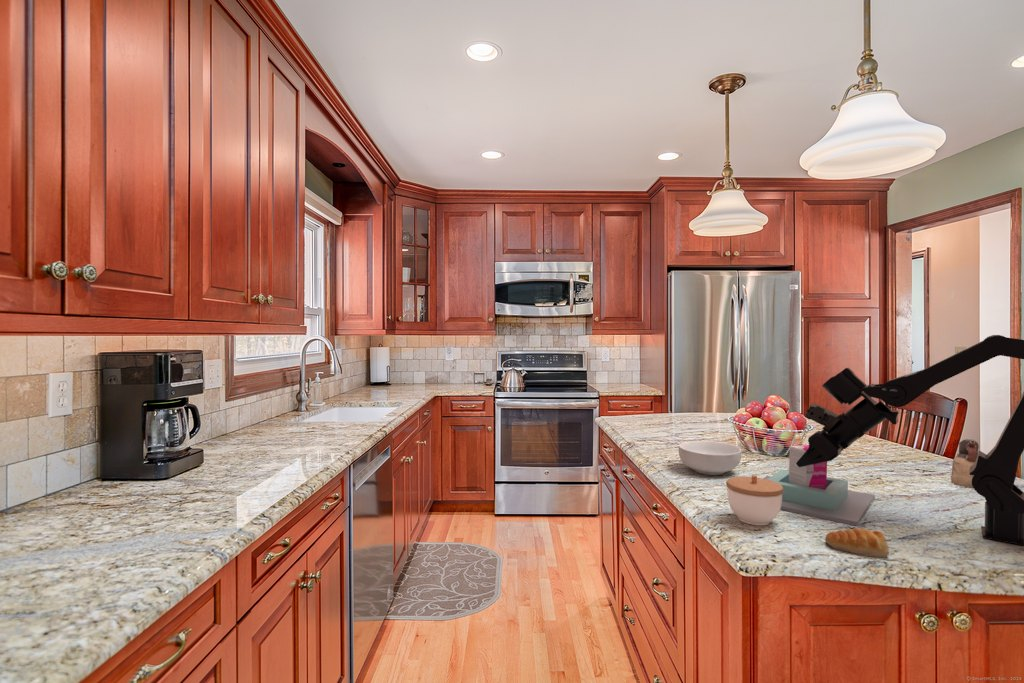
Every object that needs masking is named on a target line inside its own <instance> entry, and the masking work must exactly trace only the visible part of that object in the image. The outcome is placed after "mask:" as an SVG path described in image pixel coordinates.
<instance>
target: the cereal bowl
mask: <svg viewBox="0 0 1024 683" xmlns="http://www.w3.org/2000/svg"><path fill="white" fill-rule="evenodd" d="M678 456H679V458H680V461H681V462H682V463H683V464H684V465H685V466H687V467H688V468H690V469H692V470H694V471H695V472H696V473H699V474H702V475H707V476H708V475H709V476H720V475H724V474H725V473H727V472H729V471H732V470H734V469H736V468H738V466H739V464H740V463H741V460H742V449H741V448H740V447H739V446H737V445H735V444H731V443H728V442H727V443H726V442H721V441H719V442H718V441H712V440H711V441H710V440H709V441H708V440H692V441H685V442H681V443H679V444H678Z"/></svg>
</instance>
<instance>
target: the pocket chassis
mask: <svg viewBox="0 0 1024 683" xmlns="http://www.w3.org/2000/svg"><path fill="white" fill-rule="evenodd" d="M762 479H767V480H771V481H774V482H776V483H779V484H780V485H782V487H783V493H782V505H781V509H780V511H785V512H790V513H795V514H800V515H803V516H804V515H805V516H809V517H814V518H818V519H822V520H828V521H833V522H837V523H841V524H847V525H852V526H855V527H858V526H859V525H860V524H861V521H862V519H863V518H864V517H865V515H866V513H867V512H866V511H868V510H869V508H870V507H871V505H872V504H873V502H874V500H875V499H874V498H876V495H875V494H872V493H867V492H862V491H861V492H860V491H855V490H849V488H848V487H849V481H848V480H847V479H842V478H841V479H840V478H835V477H827V481H826V489H825V490H824V489H818V488H812V487H807V486H801V485H796V484H790V483H789V470H786V469H780V470H779V471H777V472H776V473H773V475H771V476H770V475H769V476H768V475H766V476H764V477H763V478H762ZM871 503H872V504H871ZM869 506H870V507H869Z"/></svg>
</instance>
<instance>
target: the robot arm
mask: <svg viewBox="0 0 1024 683" xmlns="http://www.w3.org/2000/svg"><path fill="white" fill-rule="evenodd" d="M999 356H1002V357H1008V358H1012V359H1013V358H1015V359H1020V360H1024V339H1019V338H1015V337H1014V338H1013V337H1006V336H1005V335H1000V334H992V335H989V336H987V337H986V338H984V339H983V340H981V341H979V342H977V343H975V344H973V345H971V346H969V347H967V348H965V349H963V350H962V351H959V352H957V353H954V354H953V355H950V356H948V357H946V358H945V359H942V360H940V361H938V362H936V363H935V364H933V365H931V366H928V367H926V368H924V369H921V370H918V371H914V372H911V373H908V374H904V375H901V376H897V377H894V378H892V379H889V380H888V381H886V382H884V383H876V384H875V383H870V384H866V383H865V382H864V381H863V380H862V379H861V378H860V377H858V376H857V375H856V374H855V372H854V371H853V370H852V369H851V368H850V367H845V368H844V369H842V370H841V371H840V372H838V373H837V374H835V375H833V376H832V377H830V378H829V379H828V380H826V381H825V382H824V383H823V384H822V385H821V387H822V388H823V390H825V391H826V392H827V393H829V394H830V396H832V397H833V398H834V399H835V400H836V401H837V402H838V403H839V404H840V405H843V404H844V405H846V404H847V405H849V406H851V405H852V404H853V403H855V402H856V401H857V400H859V399H860V398H861V397H863V399H862V400H861V401H859V402H858V403H856V404H854V406H852V407H851V408H850V409H849V410H847V411H845V412H843V413H841V414H837V413H835V412H834V411H831V410H830V409H828V408H826V407H824V406H822V405H820V404H817V403H814V402H813V403H811V404H810V405H809V407H808V409H806V412H805V414H804V418H806V419H807V420H812V421H813V422H815V423H817V424H819V425H821V426H823V427H822V428H821V429H822V430H817V431H816V432H815V433H813V434H811V436H809V437H808V438H807V442H808V445H809V448H808V450H807V451H806V452H805V453H804V454H803V456H802V457H801V458H800V459H799V460H798V462H797V463H796V464H797V465H798V467H803V466H808V465H812V464H817V463H822V462H827V463H828V462H832V461H833V460H834V459H835V458H838V456H840V455H841V454H842V451H844V450H846V449H847V448H849V447H850V446H851V445H852V444H853V443H854V442H856V441H857V440H859V439H861V438H862V437H863V436H865V435H866V434H867V433H868V432H870V431H871V430H873V429H874V428H875V427H877V426H879V425H880V424H881V423H883V422H884V421H885V420H887V421H889V422H890V423H891V424H892V425H897V424H898V423H899V418H898V417H899V414H900V411H899V410H892V409H891V408H890V407H894V408H901V407H905V406H907V405H909V404H910V403H911V402H913V401H915V399H918V397H920V396H922V395H923V394H924V393H926V392H927V391H929V390H930V389H931V388H933V387H934V386H936V385H938V384H940V383H942V382H945V381H947V380H949V379H951V378H953V377H955V376H958V375H960V374H963V373H965V372H966V371H968V370H970V369H972V368H975V367H976V366H979V365H980V364H984V363H985V362H987V361H990V360H991V359H994V358H996V357H999ZM873 398H874V399H873ZM875 399H878V400H880V401H878V402H877V401H876V400H875ZM887 405H888V406H887ZM889 406H890V407H889ZM1023 453H1024V391H1023V392H1022V394H1021V396H1020V398H1019V400H1018V401H1017V404H1016V405H1015V407H1014V409H1013V411H1012V413H1011V415H1010V417H1009V418H1008V420H1007V422H1006V424H1005V425H1004V428H1003V430H1002V432H1001V434H1000V436H999V438H998V440H997V442H996V444H995V445H994V447H993V448H992V449H991V450H990V451H989V452H988V453H984V451H983V452H982V451H981V450H978V455H977V459H976V462H975V463H974V464H973V465H972V466H971V467H970V470H969V474H970V475H972V486H973V488H972V489H974V492H976V493H977V494H978V495H979V496H981V497H983V498H984V499H985V502H984V526H983V525H981V526H980V532H981V535H982V536H981V537H982V538H984V539H988V540H994V541H998V542H999V541H1000V542H1003V543H1005V542H1006V543H1010V544H1014V545H1021V546H1024V491H1023V490H1022V489H1021V488H1019V487H1018V486H1017V485H1015V483H1016V482H1015V481H1016V477H1017V472H1018V467H1019V462H1020V458H1021V456H1022V454H1023Z"/></svg>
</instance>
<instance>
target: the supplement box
mask: <svg viewBox="0 0 1024 683" xmlns="http://www.w3.org/2000/svg"><path fill="white" fill-rule="evenodd" d="M808 448H809V444H807V445H790V446H789V457H788V458H789V459H788V460H789V462H788V471H789V483H790V484H796V485H801V486H807V487H812V488H818V489H824V490H825V489H826V481H827V476H828V475H827V474H828V473H827V472H828V461H827V462H822V463H817V464H812V465H808V466H803V467H798V465H797V464H796V463H797V462H798V460H799V459H800V458H801V457H802V456H803V454H804V453H805V452H806V451H807V450H808Z"/></svg>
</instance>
